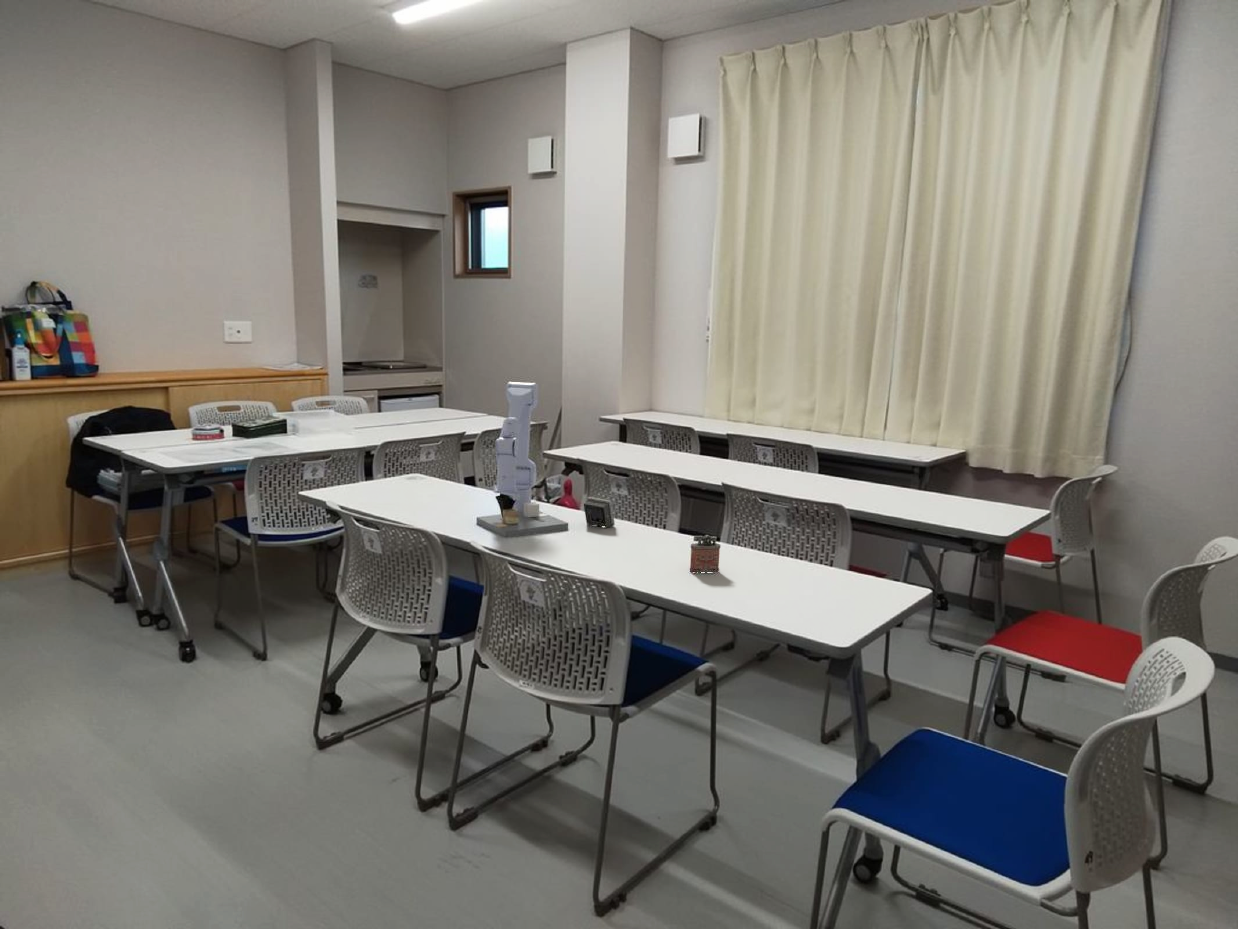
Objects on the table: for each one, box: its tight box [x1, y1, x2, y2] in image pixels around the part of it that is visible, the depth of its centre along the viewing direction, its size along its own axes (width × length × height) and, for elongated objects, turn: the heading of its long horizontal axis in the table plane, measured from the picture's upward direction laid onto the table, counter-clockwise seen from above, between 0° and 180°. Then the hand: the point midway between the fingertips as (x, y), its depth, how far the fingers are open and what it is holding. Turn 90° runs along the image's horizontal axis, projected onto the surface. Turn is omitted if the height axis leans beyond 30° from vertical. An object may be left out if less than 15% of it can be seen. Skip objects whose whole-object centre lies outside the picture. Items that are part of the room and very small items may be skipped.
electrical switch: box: [583, 496, 615, 529], centre depth 265 cm, size 9×5×9 cm, turn 57°
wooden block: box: [503, 508, 519, 524], centre depth 257 cm, size 3×4×4 cm
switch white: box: [524, 501, 540, 517], centre depth 267 cm, size 3×4×4 cm
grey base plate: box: [476, 510, 569, 539], centre depth 262 cm, size 20×22×2 cm
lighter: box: [689, 534, 721, 573], centre depth 221 cm, size 8×3×10 cm, turn 100°
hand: (506, 518), depth 260 cm, fingers closed
